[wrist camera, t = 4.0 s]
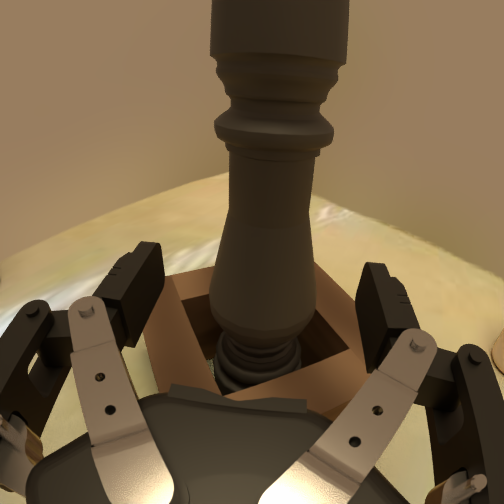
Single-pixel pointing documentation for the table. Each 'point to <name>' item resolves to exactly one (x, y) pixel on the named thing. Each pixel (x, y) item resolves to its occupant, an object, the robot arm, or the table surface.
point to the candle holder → (270, 177)
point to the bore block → (288, 386)
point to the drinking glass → (499, 352)
